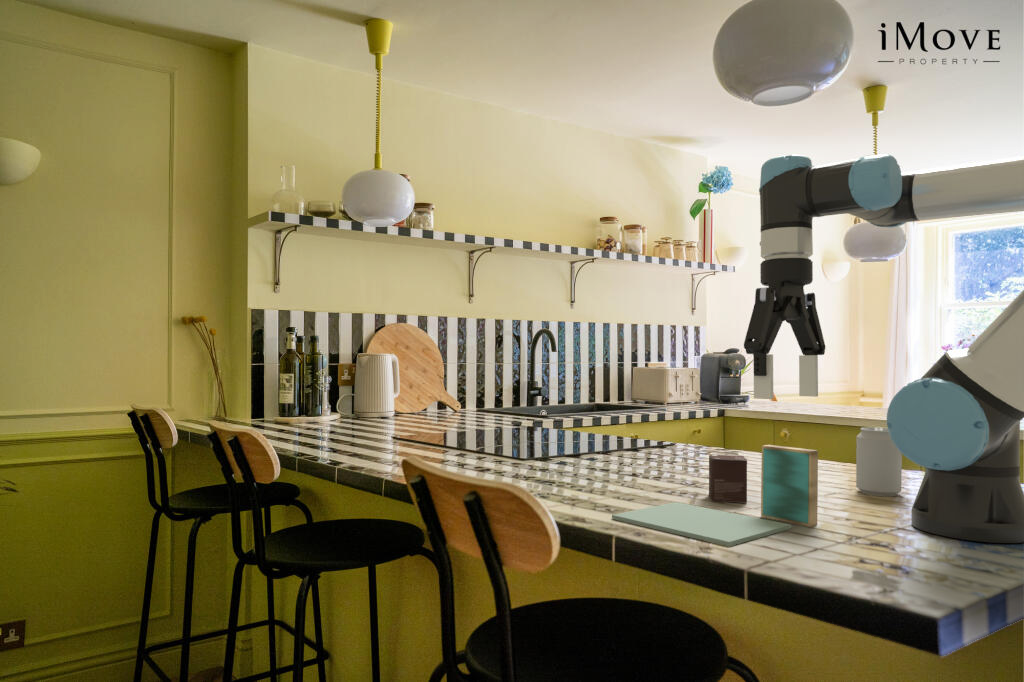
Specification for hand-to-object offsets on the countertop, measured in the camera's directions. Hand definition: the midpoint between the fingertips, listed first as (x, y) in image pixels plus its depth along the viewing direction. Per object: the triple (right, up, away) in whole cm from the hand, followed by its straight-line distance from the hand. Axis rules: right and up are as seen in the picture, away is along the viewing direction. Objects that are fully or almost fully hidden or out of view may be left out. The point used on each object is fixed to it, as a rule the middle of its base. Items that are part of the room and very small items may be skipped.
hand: (786, 397), depth 112 cm
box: (-5, -19, +15) cm, 25 cm away
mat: (-14, -18, -4) cm, 24 cm away
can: (+26, -20, +23) cm, 40 cm away
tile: (0, -19, -1) cm, 19 cm away
